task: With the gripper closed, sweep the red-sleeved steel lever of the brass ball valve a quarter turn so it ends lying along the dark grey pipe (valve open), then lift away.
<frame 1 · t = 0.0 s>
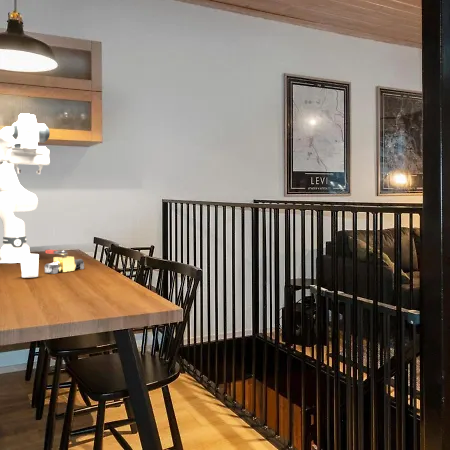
hand: (28, 173, 238), 48 cm above the table, fingers open, 8 cm apart
lever: (56, 252, 234), point 9 cm above the table, hinge at 90.0°
valve: (64, 270, 232), on the table
white cup: (30, 277, 215), on the table
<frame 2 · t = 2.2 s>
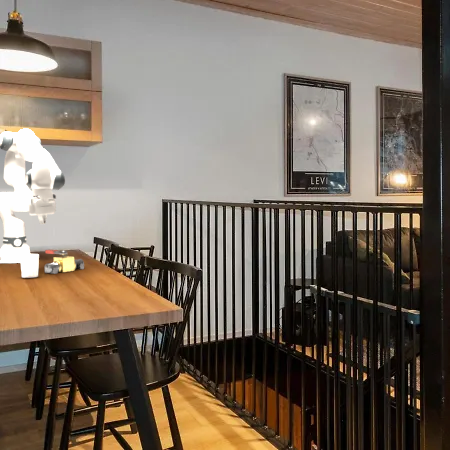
hand: (42, 224, 229), 23 cm above the table, fingers closed
nothing on the table moved.
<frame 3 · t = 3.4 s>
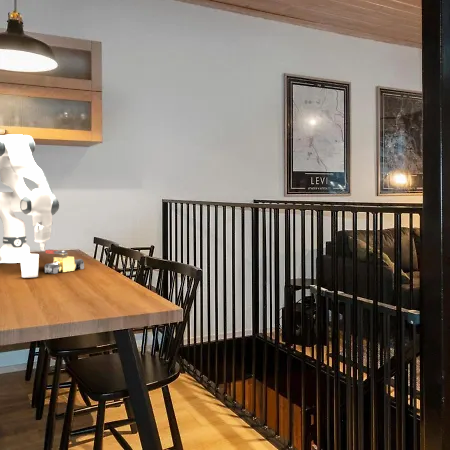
hand: (42, 250, 229), 10 cm above the table, fingers closed
nothing on the table moved.
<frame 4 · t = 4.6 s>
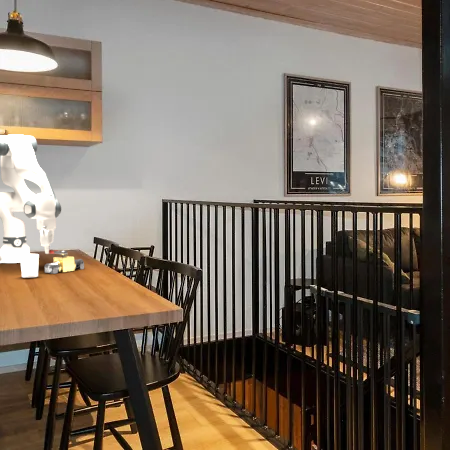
hand: (47, 253, 234), 8 cm above the table, fingers closed
lever: (57, 252, 234), point 9 cm above the table, hinge at 87.8°, touching gripper
everything else where it was.
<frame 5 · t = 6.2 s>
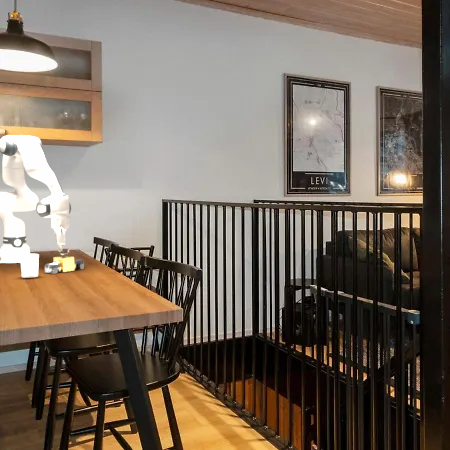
hand: (60, 252, 239), 8 cm above the table, fingers closed, pressing on lever
lever: (64, 251, 236), point 9 cm above the table, hinge at 45.1°, touching gripper
everything else where it was.
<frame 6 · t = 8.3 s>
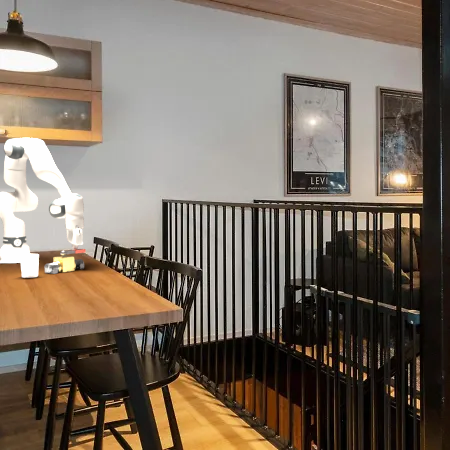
hand: (75, 252, 240), 8 cm above the table, fingers closed
lever: (72, 251, 235), point 9 cm above the table, hinge at -2.7°
everything else where it was.
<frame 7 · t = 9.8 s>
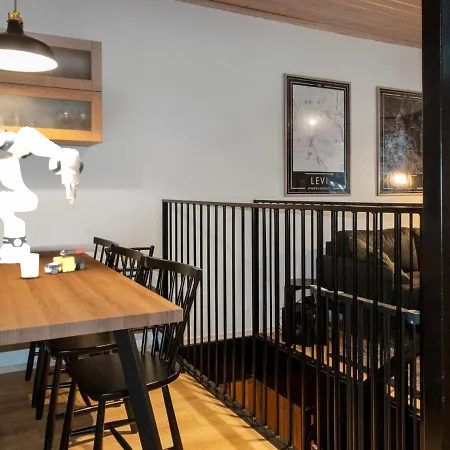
hand: (71, 207, 243), 31 cm above the table, fingers closed
nothing on the table moved.
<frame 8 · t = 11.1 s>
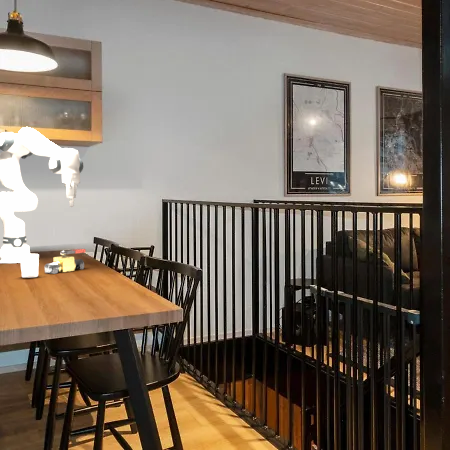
hand: (71, 206, 243), 31 cm above the table, fingers closed
nothing on the table moved.
at the end: lever at -3° (first picture: +90°); lever touching nothing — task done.
